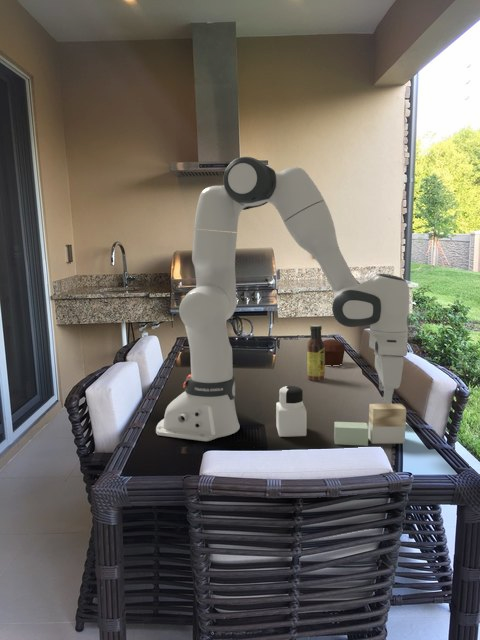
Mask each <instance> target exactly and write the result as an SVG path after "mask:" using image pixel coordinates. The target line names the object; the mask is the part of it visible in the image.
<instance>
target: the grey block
mask: <svg viewBox="0 0 480 640" xmlns="http://www.w3.org/2000/svg"><path fill="white" fill-rule="evenodd" d="M405 439H406V426H397V427H373V426H372V425H371V423H370V422H369V421H368V440H369V441H370V443H371V444H405V441H406V440H405Z"/></svg>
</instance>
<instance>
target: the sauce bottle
mask: <svg viewBox="0 0 480 640" xmlns="http://www.w3.org/2000/svg"><path fill="white" fill-rule="evenodd" d="M309 327H310V328H309V329H310V339H309V341H308V342H307V353H306V354H307V355H306V356H307V357H306V361H307V362H306V364H307V365H306V366H307V369H306V370H307V373H306V375H307V380H309V381H312V382H320V381H323V380H324V379H325V373H326V371H325V370H326V369H325V367H326V366H325V347H324V344H323V341H324V340H323V339H322V329H323V328H322V325H321V324H311V325H310V326H309Z"/></svg>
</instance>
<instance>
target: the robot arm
mask: <svg viewBox="0 0 480 640" xmlns="http://www.w3.org/2000/svg"><path fill="white" fill-rule="evenodd" d="M222 182H223V185H212V186H207V187H206V188H205V189H203V190H202V191H201V192H200V194H199V196H198V201H197V206H196V209H195V216H194V225H193V237H192V251H191V252H192V253H191V261H192V264H193V267H194V273H195V281H196V283H195V284H196V285H195V287H194V288H193V289H191V290H190V291H188V292H187V293H186V295H185V296H184V297H183V298H182V300H181V301H180V303H179V308H178V312H179V313H178V314H179V318H180V319H181V321H182V323H183V325H184V328H185V332H186V337H187V342H188V345H189V346H188V347H189V353H190V355H189V356H190V372H191V373H190V374H188V376H186V379H185V380H184V381H183V382H184V383H183V384H182V385H183V386H182V387H183V389H184V391H183V392H182V393H181V394H179V395H178V396H177V397H176V398H174V399H173V400H172V401H170V403H169V404H168V405H167V407H166V408H165V412H164V418H163V419H161V420H160V421H159V422H158V423H157V425H156V427H155V433H156V434H157V436H162V437H170V438H177V439H185V440H193V441H199V442H200V441H201V442H209V441H210V442H211V441H212V440H215V439H218V438H222V437H227V436H230V435H232V434H235V433H237V432H238V431H239V430H240V423H239V420H238V416H237V411H236V405H235V396H236V383H235V376H234V375H233V373H234V372H233V348H232V345H231V343H230V339H229V334H228V327H227V321H228V320H230V318H232V316H233V315H234V313H235V311H236V308H237V304H238V300H237V298H238V297H237V283H236V282H237V279H236V265H235V264H236V251H237V250H236V249H237V241H238V239H237V238H238V227H239V226H238V223H239V217H240V214H241V212H242V211H246V210H250V209H253V208H259V207H262V206H264V205H266V204H268V203H270V204H272V205H273V206H274V208H275V209H276V211H277V212H278V214H279V215H280V218H281V220H282V222H283V223H284V226H285V227H286V229H287V231H288V233H289V234H290V236H291V238H293V240H294V241H295V242H296V244H297V245H298V246H299V247H300V248H302V249H303V250H305V251H306V252H307V253H308V254H310V256H312V257H313V258H314V259H315V260H316V261H317V264H318V265H319V266H320V268H321V270H322V272H323V274H324V276H325V279H326V280H327V282H328V284H329V285H330V288H331V289H332V293H333V302H332V305H331V310H332V315H333V317H334V319H335V320H336V321H337V322H338V323H339V324H340V325H342V326H345V327H348V328H358V327H363V326H364V327H365V326H369V341H368V344H369V345H368V347H369V348H370V349H372V350H373V351H374V352H373V354H374V355H375V356H374V368H375V370H376V373H377V375H378V389H379V391H380V392H383V402H384V403H385V404H392V402H393V396H394V395H393V394H394V391H395V389H399V388H400V386H401V382H402V376H403V372H404V371H403V369H404V363H405V362H404V361H405V357H407V354H408V333H409V327H408V322H407V321H408V320H407V319H408V317H409V314H410V287H409V284H408V282H407V281H406V280H405V279H404V278H402V277H400V276H397V275H393V274H386V273H378V274H376V275H375V276H373V277H372V278H369V279H368V280H366V281H364V282H361V283H360V282H359V281H358V280H357V279H356V278H355V276H354V275H353V273H352V271H351V269H350V268H349V265H348V263H347V262H346V260H345V258H344V255H343V254H342V251H341V249H340V247H339V243H338V240H337V234H336V229H335V224H334V221H333V218H332V214H331V211H330V209H329V207H328V204H327V203H326V201H325V199H324V196H323V195H322V193H321V192H320V189H319V188H318V186H317V185H316V184H315V182H314V180H313V179H312V178H311V177H310V176H309V174H308V173H307V171H306V170H305V169H304V168H302V167H299V166H296V167H295V166H293V167H287V168H285V169H283V170H281V171H279V172H276V171H275V170H274V169H273V168H272V167H270V166H268V165H267V164H266V163H264V162H263V161H260V160H259V159H258V158H254V157H250V156H241V157H238V158H235V159H233V160H232V161H230V163H229V164H228V166H226V168H225V169H224V173H223V181H222Z"/></svg>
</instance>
